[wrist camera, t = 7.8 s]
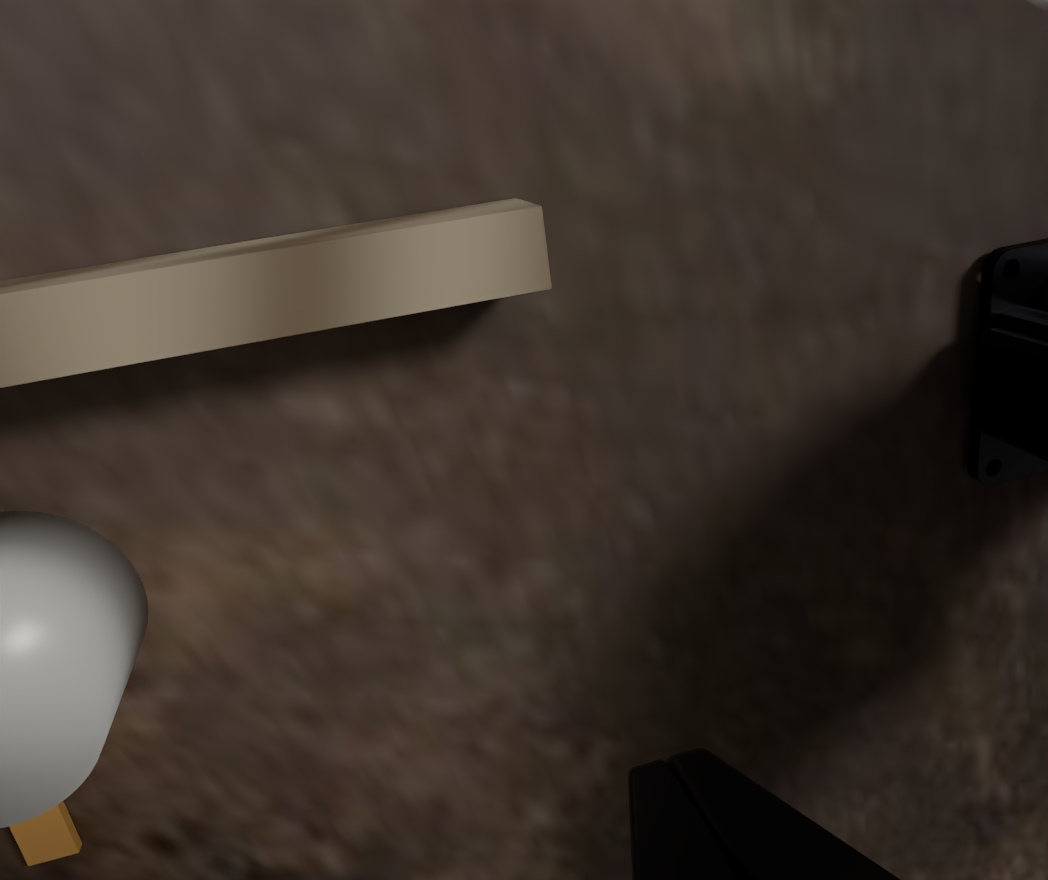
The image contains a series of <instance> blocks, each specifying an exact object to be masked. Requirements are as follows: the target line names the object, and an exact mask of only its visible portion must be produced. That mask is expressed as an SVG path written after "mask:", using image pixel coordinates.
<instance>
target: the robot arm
mask: <svg viewBox="0 0 1048 880" xmlns="http://www.w3.org/2000/svg"><path fill="white" fill-rule="evenodd" d="M1006 262H1007V263H1008V267H1007V270H1006V272H1005V273H1004V274H1002V269H1003V266H1004V265H1005V263H1006ZM990 461H991V463H990V465H989V466H988V468H987V469H986V466H987V464H988V463H989V462H990ZM967 467H968V473H969V474H970V476H971V477H973V478H975V479H977V480H979V481H981V482H983V483H985V484H995V483H999V482H1003V481H1007V480H1011V479H1015V478H1019V477H1024V476H1028V475H1032V474H1036V473H1040V472H1044V471H1048V238H1047V239H1042V240H1037V241H1032V242H1026V243H1021V244H1016V245H1010V246H1005V247H1000V248H998V249H995V250H993V251H992V252H991V253H990V254H989V255H988V256H987V258H986V260H985V261H984V264H983V268H982V276H981V289H980V303H979V316H978V330H977V343H976V357H975V370H974V384H973V397H972V410H971V424H970V437H969V451H968V464H967ZM628 789H629V811H630V834H631V856H632V878H633V880H900V879H899V878H897V877H896V876H894V875H893V874H891V873H890V872H888V871H887V870H885V869H884V868H882V867H881V866H879V865H878V864H876V863H875V862H873V861H872V860H870V859H869V858H867V857H866V856H864V855H863V854H861V853H860V852H858V851H857V850H855V849H854V848H852V847H851V846H849V845H848V844H846V843H845V842H843V841H842V840H840V839H839V838H837V837H836V836H834V835H833V834H831V833H830V832H828V831H827V830H825V829H824V828H822V827H821V826H820V825H818V824H817V823H815V822H814V821H812V820H811V819H809V818H808V817H806V816H805V815H803V814H802V813H800V812H799V811H797V810H796V809H794V808H793V807H791V806H790V805H788V804H787V803H785V802H784V801H782V800H781V799H779V798H778V797H776V796H775V795H773V794H772V793H770V792H769V791H767V790H766V789H764V788H763V787H761V786H760V785H758V784H757V783H755V782H754V781H752V780H751V779H749V778H748V777H746V776H745V775H743V774H742V773H740V772H739V771H738V770H736V769H735V768H733V767H732V766H730V765H729V764H727V763H726V762H724V761H723V760H721V759H720V758H718V757H717V756H715V755H714V754H712V753H711V752H709V751H707V750H705V749H702V748H697V749H693V750H690V751H687V752H683V753H680V754H676V755H673V756H671V757H669V758H668V760H667V762H665V761H663V760H656V761H653V762H650V763H646V764H643V765H640V766H636V767H633V768H631V769H630V770H629V772H628Z"/></svg>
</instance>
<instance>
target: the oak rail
mask: <svg viewBox="0 0 1048 880" xmlns="http://www.w3.org/2000/svg"><path fill="white" fill-rule="evenodd" d="M547 289H552V287H551V279H550V271H549V263H548V254H547V246H546V238H545V230H544V221H543V213H542V206H540V205H536V204H533V203H530V202H526V201H523V200H520V199H517V198H513V199H507V200H500V201H494V202H488V203H482V204H475V205H469V206H463V207H457V208H451V209H444V210H438V211H432V212H426V213H419V214H413V215H407V216H401V217H394V218H388V219H382V220H376V221H370V222H363V223H357V224H351V225H345V226H338V227H332V228H326V229H320V230H313V231H307V232H301V233H295V234H289V235H282V236H276V237H270V238H264V239H257V240H251V241H245V242H239V243H232V244H226V245H220V246H214V247H208V248H201V249H195V250H189V251H183V252H176V253H170V254H164V255H158V256H151V257H145V258H139V259H133V260H127V261H120V262H114V263H108V264H102V265H95V266H89V267H83V268H77V269H70V270H64V271H58V272H52V273H46V274H39V275H33V276H27V277H21V278H14V279H8V280H2V281H0V388H2V387H8V386H13V385H19V384H25V383H30V382H36V381H41V380H47V379H52V378H58V377H63V376H69V375H75V374H80V373H86V372H91V371H97V370H102V369H108V368H114V367H119V366H125V365H130V364H136V363H141V362H147V361H152V360H158V359H164V358H169V357H175V356H180V355H186V354H191V353H197V352H202V351H208V350H214V349H219V348H225V347H230V346H236V345H241V344H247V343H252V342H258V341H264V340H269V339H275V338H280V337H286V336H291V335H297V334H302V333H308V332H314V331H319V330H325V329H330V328H336V327H341V326H347V325H352V324H358V323H364V322H369V321H375V320H380V319H386V318H391V317H397V316H402V315H408V314H414V313H419V312H425V311H430V310H436V309H441V308H447V307H453V306H458V305H464V304H469V303H475V302H480V301H486V300H491V299H497V298H503V297H508V296H514V295H519V294H525V293H530V292H536V291H541V290H547Z"/></svg>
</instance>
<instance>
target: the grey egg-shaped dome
mask: <svg viewBox="0 0 1048 880" xmlns="http://www.w3.org/2000/svg"><path fill="white" fill-rule="evenodd" d="M147 623H148V603H147V597H146V593H145V589H144V586H143V583H142V581H141V579H140V577H139V574H138V573H137V571H136V570H135V568H134V566H133V565H132V563H131V562H130V561H129V560H128V558H127V557H126V556H125V555H124V554H123V553H122V552H121V551H120V550H119V549H118V548H117V547H116V546H115V545H114V544H113V543H112V542H110V541H109V540H107V539H106V538H105V537H103V536H102V535H100V534H99V533H97V532H95V531H94V530H92V529H90V528H88V527H86V526H84V525H82V524H79V523H77V522H74V521H72V520H69V519H66V518H62V517H59V516H55V515H50V514H45V513H39V512H26V511H13V512H0V828H4V827H8V826H12V825H15V824H18V823H21V822H24V821H27V820H29V819H31V818H34V817H36V816H38V815H41V814H42V813H44V812H46V811H48V810H50V809H51V808H53V807H55V806H56V805H58V804H59V803H61V802H62V801H63V800H65V799H66V798H67V797H69V796H70V795H71V794H72V793H73V792H74V791H75V790H76V789H77V788H78V787H79V786H80V785H81V784H82V783H83V782H84V781H85V779H86V778H87V777H88V776H89V774H90V773H91V771H92V769H93V768H94V766H95V764H96V763H97V761H98V758H99V756H100V753H101V751H102V748H103V746H104V743H105V740H106V738H107V735H108V732H109V730H110V727H111V724H112V721H113V719H114V716H115V713H116V711H117V708H118V705H119V703H120V700H121V697H122V695H123V692H124V689H125V687H126V684H127V681H128V679H129V676H130V673H131V671H132V668H133V665H134V663H135V660H136V657H137V655H138V652H139V649H140V647H141V644H142V641H143V638H144V636H145V632H146V628H147Z"/></svg>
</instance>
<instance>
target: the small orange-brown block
mask: <svg viewBox="0 0 1048 880" xmlns="http://www.w3.org/2000/svg"><path fill="white" fill-rule="evenodd" d="M9 827H10V830H11V832H12V834H13V836H14V838H15V840H16V842H17V844H18V846H19V848H20V850H21V852H22V854H23V856H24V858H25V860H26V862H27V864H28V866H31V865H35V864H39V863H43V862H46V861H50V860H54V859H58V858H61V857H65V856H69V855H72V854H76V853H79V851H80V848H81V846H82V842H81V839H80V837H79V835H78V833H77V831H76V828H75V826H74V824H73V822H72V819H71V817H70V815H69V813H68V810H67V808H66V806H65V804H64V802H63V801H62V802H61V803H59V804H58V805H56V806H55V807H53V808H51V809H50V810H48V811H46V812H44V813H42V814H41V815H38V816H36V817H34V818H31V819H29V820H27V821H24V822H21V823H18V824H15V825H12V826H9Z"/></svg>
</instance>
